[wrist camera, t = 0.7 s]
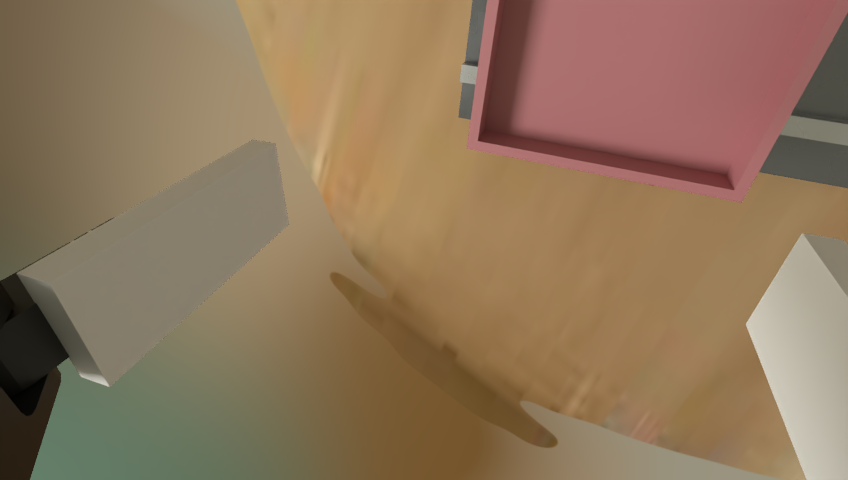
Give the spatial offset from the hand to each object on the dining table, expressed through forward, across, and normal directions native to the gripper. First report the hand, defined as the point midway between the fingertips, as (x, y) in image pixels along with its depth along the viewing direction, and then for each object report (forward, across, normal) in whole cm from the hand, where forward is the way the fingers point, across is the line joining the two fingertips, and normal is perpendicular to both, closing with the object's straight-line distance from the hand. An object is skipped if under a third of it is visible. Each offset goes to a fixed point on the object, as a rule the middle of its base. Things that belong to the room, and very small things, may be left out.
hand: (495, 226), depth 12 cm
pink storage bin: (+21, +4, +3) cm, 22 cm away
